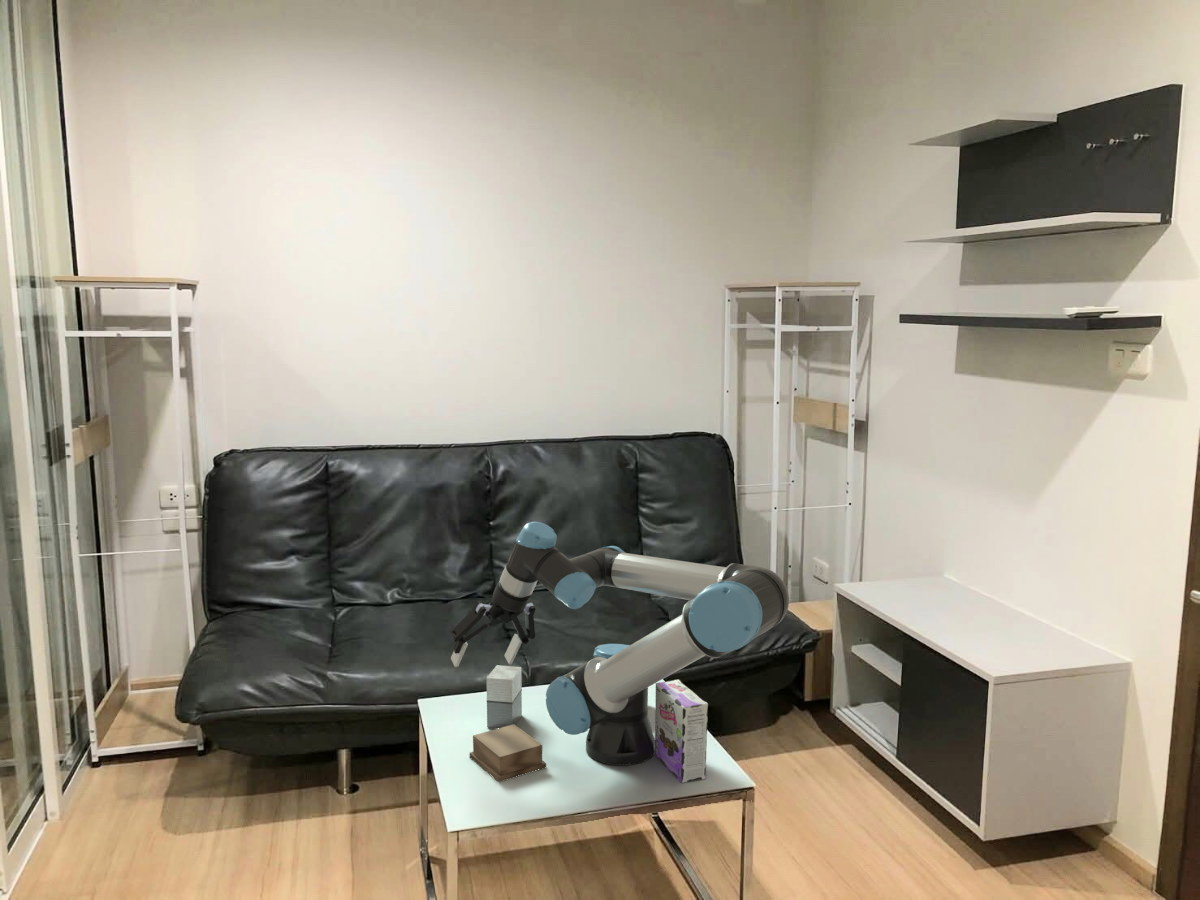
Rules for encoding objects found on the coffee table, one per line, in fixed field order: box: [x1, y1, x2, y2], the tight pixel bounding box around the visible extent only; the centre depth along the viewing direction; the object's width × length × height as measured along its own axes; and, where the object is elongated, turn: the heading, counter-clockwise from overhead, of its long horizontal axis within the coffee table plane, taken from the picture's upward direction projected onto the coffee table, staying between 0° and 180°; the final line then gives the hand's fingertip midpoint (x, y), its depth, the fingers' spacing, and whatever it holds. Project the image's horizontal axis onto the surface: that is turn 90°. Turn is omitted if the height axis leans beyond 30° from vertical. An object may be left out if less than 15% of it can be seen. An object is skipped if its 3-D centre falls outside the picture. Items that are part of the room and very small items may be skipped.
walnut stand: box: [469, 724, 547, 783], centre depth 202 cm, size 11×13×5 cm
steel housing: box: [486, 664, 523, 729], centre depth 222 cm, size 6×8×12 cm
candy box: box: [654, 679, 709, 784], centre depth 200 cm, size 14×6×16 cm, turn 21°
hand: (481, 661), depth 211 cm, fingers open, 13 cm apart
